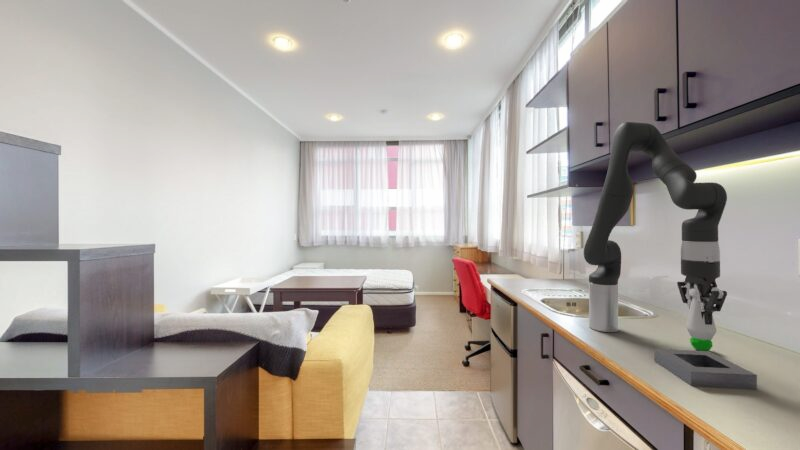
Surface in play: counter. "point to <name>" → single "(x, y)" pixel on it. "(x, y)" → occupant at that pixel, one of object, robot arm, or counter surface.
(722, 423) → the counter surface
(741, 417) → the counter surface
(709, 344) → the polyhedron
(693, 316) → the salt shaker
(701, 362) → the collar
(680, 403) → the counter surface
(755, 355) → the counter surface
